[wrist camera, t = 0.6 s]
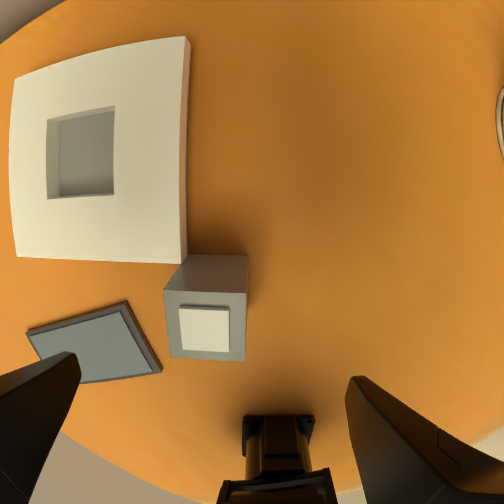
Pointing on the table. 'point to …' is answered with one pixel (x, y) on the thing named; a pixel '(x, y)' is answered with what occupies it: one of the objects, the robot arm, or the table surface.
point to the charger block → (208, 308)
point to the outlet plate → (103, 155)
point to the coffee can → (500, 120)
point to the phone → (100, 344)
